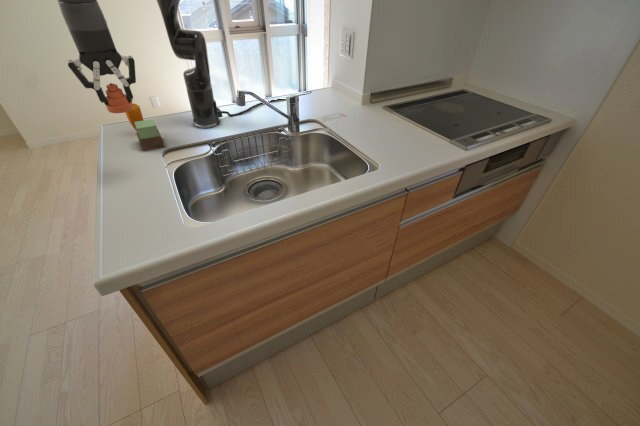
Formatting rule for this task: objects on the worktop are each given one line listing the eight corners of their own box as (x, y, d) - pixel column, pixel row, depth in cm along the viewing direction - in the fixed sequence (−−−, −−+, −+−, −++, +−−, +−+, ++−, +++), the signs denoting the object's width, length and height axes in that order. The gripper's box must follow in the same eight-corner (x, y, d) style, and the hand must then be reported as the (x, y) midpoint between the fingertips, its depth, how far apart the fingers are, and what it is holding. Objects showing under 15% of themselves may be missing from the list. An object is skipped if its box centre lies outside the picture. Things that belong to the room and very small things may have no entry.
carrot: (143, 138, 108) (128, 97, 99) (131, 136, 109) (115, 95, 99) (151, 132, 112) (138, 92, 102) (139, 131, 113) (125, 91, 103)
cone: (132, 102, 81) (123, 78, 76) (135, 111, 77) (125, 85, 73) (107, 106, 78) (96, 81, 74) (108, 114, 75) (97, 88, 70)
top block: (156, 129, 106) (153, 118, 103) (159, 136, 102) (156, 125, 99) (138, 132, 103) (134, 121, 101) (140, 139, 99) (136, 128, 97)
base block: (161, 138, 109) (157, 128, 106) (164, 147, 105) (161, 136, 102) (140, 142, 106) (136, 132, 103) (142, 151, 102) (138, 140, 99)
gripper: (47, 30, 60) (86, 111, 71) (126, 27, 66) (150, 102, 77) (48, 23, 64) (85, 101, 76) (122, 21, 71) (146, 93, 82)
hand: (118, 101), depth 76 cm, fingers closed on cone, 4 cm apart
